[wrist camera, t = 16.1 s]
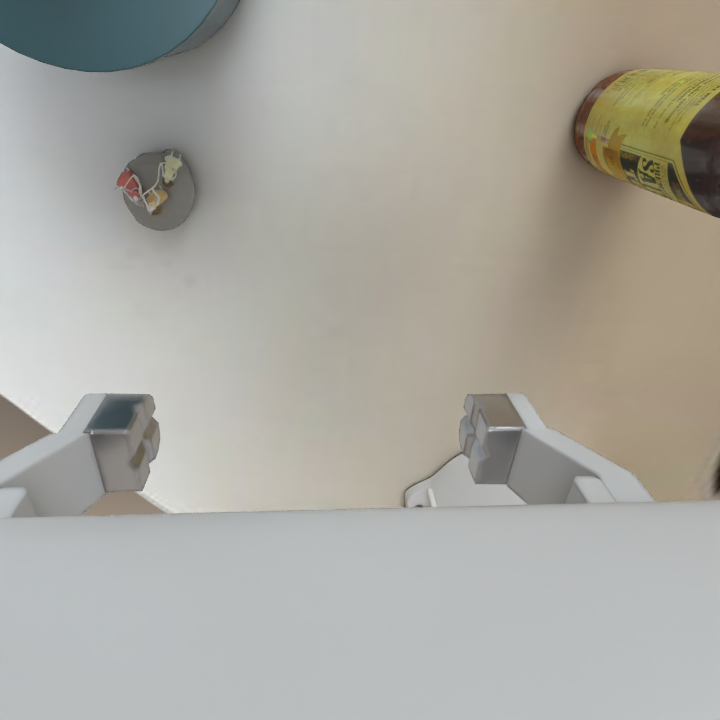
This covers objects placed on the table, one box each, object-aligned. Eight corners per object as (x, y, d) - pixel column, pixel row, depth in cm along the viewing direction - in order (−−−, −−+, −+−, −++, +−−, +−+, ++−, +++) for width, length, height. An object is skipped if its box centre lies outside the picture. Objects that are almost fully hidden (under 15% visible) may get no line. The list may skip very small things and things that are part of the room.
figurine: (181, 233, 34) (160, 265, 29) (117, 199, 33) (83, 227, 28) (213, 166, 32) (197, 187, 27) (147, 126, 31) (116, 141, 26)
